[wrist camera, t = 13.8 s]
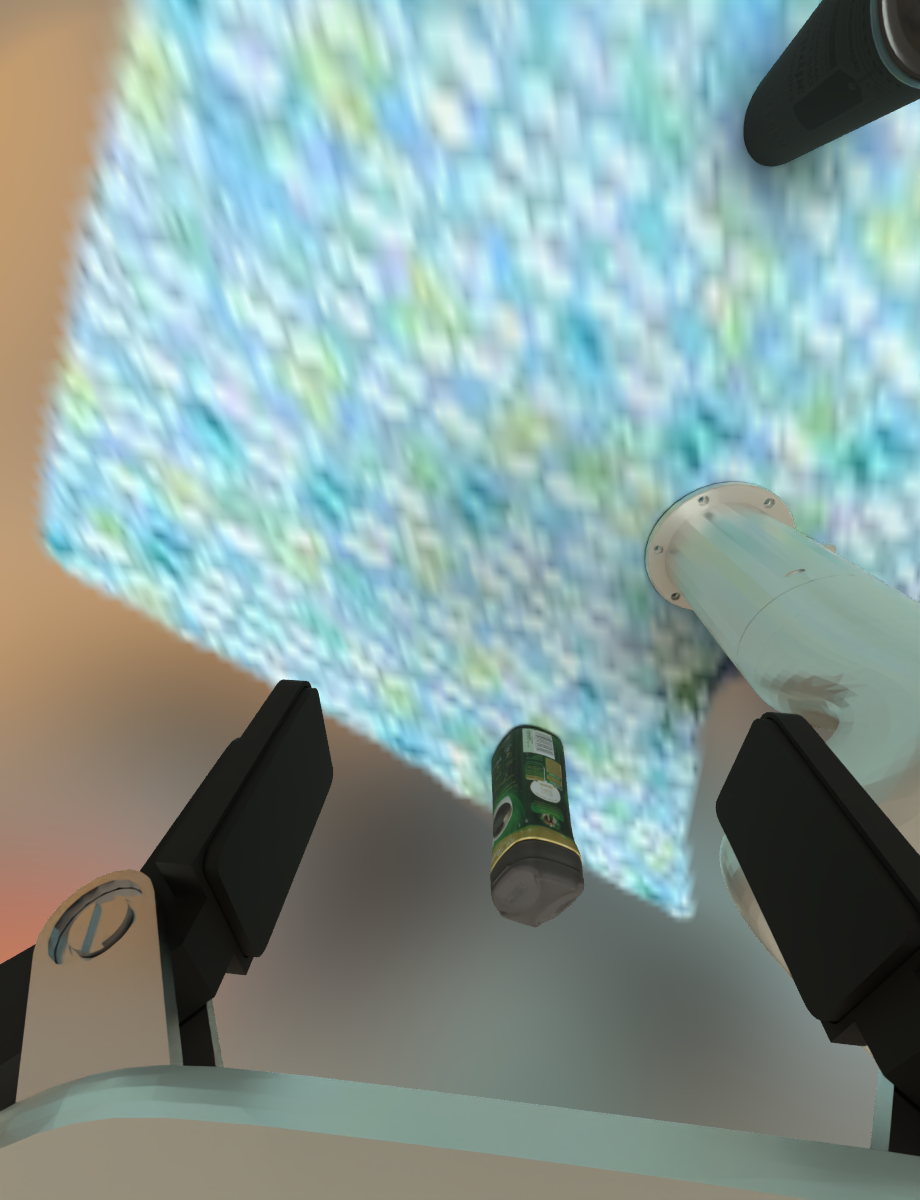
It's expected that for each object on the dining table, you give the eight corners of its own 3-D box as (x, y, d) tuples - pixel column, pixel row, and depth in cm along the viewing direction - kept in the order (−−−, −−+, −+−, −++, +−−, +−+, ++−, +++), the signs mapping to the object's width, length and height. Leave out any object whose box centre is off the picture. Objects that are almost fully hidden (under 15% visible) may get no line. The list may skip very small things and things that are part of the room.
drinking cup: (835, 183, 29) (1351, -85, 11) (711, 204, 30) (1009, -11, 12) (873, 7, 25) (1725, -792, 8) (731, 38, 26) (1195, -606, 9)
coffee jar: (537, 783, 59) (550, 943, 43) (484, 764, 58) (477, 920, 42) (573, 737, 55) (603, 897, 38) (515, 715, 54) (521, 870, 37)
